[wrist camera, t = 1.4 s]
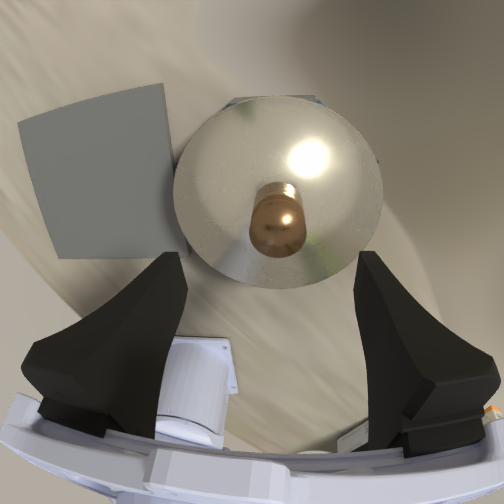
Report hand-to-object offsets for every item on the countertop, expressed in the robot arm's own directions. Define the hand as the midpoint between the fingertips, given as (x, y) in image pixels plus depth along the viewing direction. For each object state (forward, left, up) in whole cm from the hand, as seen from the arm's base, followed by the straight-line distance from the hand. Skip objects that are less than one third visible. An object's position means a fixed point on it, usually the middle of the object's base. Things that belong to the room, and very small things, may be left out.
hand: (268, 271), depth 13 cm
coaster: (+1, +13, -10) cm, 17 cm away
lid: (0, 0, -7) cm, 7 cm away
